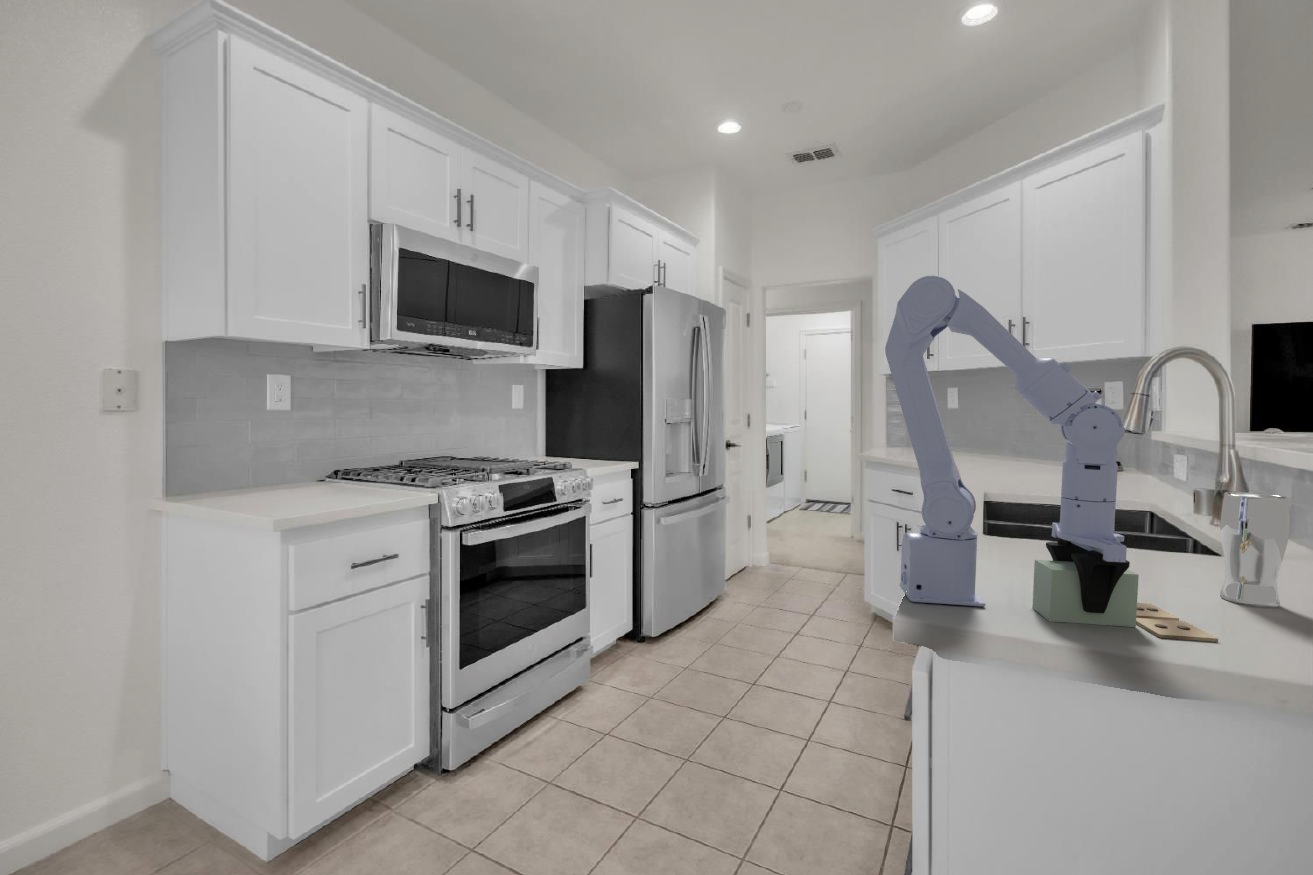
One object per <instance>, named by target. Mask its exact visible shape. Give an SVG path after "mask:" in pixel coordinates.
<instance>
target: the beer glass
mask: <svg viewBox="0 0 1313 875" xmlns="http://www.w3.org/2000/svg"><path fill="white" fill-rule="evenodd" d="M1223 495H1224V496H1223V500H1222V501H1223V502H1222V508H1221V513H1220V530H1219V531H1220V539H1221V540H1220V541H1221V546H1222V547H1221V548H1222V554H1223V559H1224V565H1225V570H1224V572H1225V573H1224V574H1225V575H1224V580H1223V583H1222V586H1221V590H1220V593H1219V596H1220V598H1221V599H1223V600H1225V601H1228V602H1231V603H1234V604H1239V605H1242V606H1243V605H1245V606H1248V607H1255V608H1265V609H1267V608H1268V609H1274V608H1279V607H1280V605H1281V601H1280V596H1279V591H1278V590H1279V589H1278V577H1279V571H1280V569H1281V565H1282V562H1283V559H1284V556H1285V553H1286V550H1287V546H1288V542H1289V538H1290V537H1289V536H1290V530H1291V529H1290V528H1291V525H1290V524H1291V514H1290V513H1291V512H1290V509H1291V508H1290V497H1288V496H1284V495H1280V494H1279V495H1277V494H1269V493H1261V492H1260V493H1259V492H1258V493H1257V492H1249V491H1248V492H1245V491H1244V492H1243V491H1226V492H1224V493H1223Z"/></svg>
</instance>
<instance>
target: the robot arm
mask: <svg viewBox="0 0 1313 875" xmlns="http://www.w3.org/2000/svg"><path fill="white" fill-rule="evenodd" d="M953 286H954V285H952V284H951V282H950V281H949V280H948V279H946V278H945V277H942V276H939V275H934V274H933V275H926V276H922V277H920V278H918V279H916V280H915V281H913V282H911V284H910V285H909V287H908V288H907V289H906V291H905V292H904V293H903V294H902V296H901V297H900V298H899V300H898V301H897V303H896V309H895V315H894V318H893V321H892V325H891V327H890V331H889V334H888V336H887V340H886V344H885V348H884V352H885V357H886V360H887V364H888V367H889V369H890V374H891V377H892V381H893V383H894V384H893V385H894V387H895V391H896V395H897V398H898V401H899V402H898V403H899V405H900V408H901V413H902V415H903V418H904V422H905V426H906V428H907V433H908V436H909V438H910V439H909V440H910V442H911V446H912V449H913V453H914V456H915V460H916V463H917V466H918V470H919V477H920V478H919V479H920V487H921V490H922V494H923V502H922V506H921V517H922V520H923V522H924V524H922V525H921V526H920V528H919V530H920V531H917V532H905V533H904V534H903V536H902V541H901V556H900V557H901V558H900V560H901V561H900V563H901V564H900V582H899V585H898V586H899V587H900V590H902V591H903V593H904V594H905V595H906V597H907V598H908V600H909V601H910V602H914V603H924V604H925V603H928V604H938V605H939V604H941V605H942V604H943V605H954V606H955V605H956V606H957V605H958V606H969V607H970V606H971V607H986V602H985V601H984V600H982V599H981V597H979V596H978V595H977V594H976V577H977V575H976V574H977V571H976V570H977V552H978V532H977V531H976V530H975V529H973V528H972V526H971V525H972V523H973V522H974V521H973V520H974V517H975V515H974V514H975V513H976V509H977V504H976V503H977V502H976V500H975V496H974V495H973V493H972V492H971V491H970V490H969V489H968V488H967V487H966V485H965V484H964V483H963V480H962V477H961V474H960V472H959V470H958V466H957V465H956V462H955V459H954V455H953V453H952V448H951V446H950V442H949V438H948V436H947V432H946V428H945V425H944V422H943V419H942V415H941V411H940V409H939V406H938V402H937V398H936V395H935V392H934V389H933V386H932V385H933V384H932V382H931V379H930V375H929V372H928V367H927V364H926V361H925V358H924V355H925V353H926V352H927V350H928V349H929V347H930V346H931V344H932V343H933V341H934V340H935V338H936V337H937V336H938V335H939V334H940V333H942V332H943V331H944V330H945V329H946V328H949V330H950V333H951V332H952V333H957V334H962V335H965V336H966V335H967V336H970V337H972V338H973V339H974V340H976V341H977V343H979V344H980V345H981V346H982V347H984V348H985V349H986V350H987V351H988V352H989V353H990V354H992V355H993V357H995V358H996V359H997V360H999V362H1001V363H1002V364H1003V365H1004V366H1005V367H1007V368H1008V370H1009V371H1011V372H1012V373H1013V374H1014V375H1015V386H1014V387H1015V391H1016V392H1017V393H1019V395H1021V396H1022V397H1023V398H1024V399H1025V400H1026V401H1027V402H1028V403H1029V404H1031V406H1033V408H1034V409H1035V410H1036V411H1038V412H1039V413H1040V414H1041V415H1042V416H1043V417H1044V418H1045V419H1046V420H1048V421H1049V423H1050V424H1052V425H1056V424H1057V425H1060V431H1061V434H1062V437H1063V438H1064V440H1067V441H1069V442H1066V443H1065V453H1064V460H1063V462H1062V471H1061V472H1062V473H1061V475H1062V476H1061V488H1060V489H1061V494H1060V495H1061V496H1060V513H1059V514H1060V515H1059V516H1060V517H1059V522H1051V524H1052V526H1051V537H1053V538H1055V539H1056V538H1057V539H1059V540H1057V541H1047V542H1046V543H1045V547H1046V549H1047V551H1048V552H1049V554H1050V557H1051V558H1052V561H1067V562H1074V563H1075V566H1076V568H1077V571H1078V575H1079V580H1080V586H1081V600H1082V606H1083V609H1084V611H1085V612H1089V613H1105V611H1106V608H1107V606H1108V603H1109V600H1110V597H1111V595H1112V592H1113V590H1114V588H1115V586H1116V584H1117V582H1118V580H1119V579H1120V577H1121V576H1122V575H1123V574H1124V572H1125V571H1126V570H1129V568H1130V561H1129V560H1127V549H1128V548H1127V545H1125V544H1122V543H1123V542H1124V541H1125V535H1122V534H1119V533H1115V526H1116V525H1115V522H1116V521H1115V520H1116V506H1117V505H1116V503H1117V486H1118V484H1117V483H1118V468H1119V466H1118V463H1117V458H1118V454H1119V453H1118V444H1119V443H1120V442H1121V440H1122V439H1123V437H1124V436H1125V432H1126V427H1124V425H1123V422H1122V418H1121V416H1120V415H1119V414H1118V413H1117V411H1115V410H1114V409H1113V408H1111V407H1109V406H1107V405H1103V404H1099V403H1097V402H1098V401H1099V400H1100V399H1101V398H1103V396H1102V395H1101V394H1100V393H1099V392H1098V391H1096V390H1095V391H1093V392H1091V390H1089V388H1087V387H1086V386H1085V385H1084V384H1083V383H1081V382H1080V381H1079V380H1078V379H1077V378H1076V377H1075V376H1074V375H1073V374H1072V373H1071V372H1070V371H1071V370H1072V369H1073V368H1072V366H1070V364H1069V363H1067V362H1066V361H1063V362H1061V363H1059V362H1058V361H1057V360H1056V359H1055V358H1049V357H1046V358H1039V357H1038V358H1037V357H1035V355H1033V353H1032V352H1030V351H1029V349H1028V348H1026V347H1025V346H1024V344H1022V343H1021V341H1019V340H1018V339H1017V338H1016V336H1014V335H1013V334H1012V333H1011V332H1010V331H1009V330H1008V329H1007V328H1006V327H1005V326H1004V325H1003V324H1001V322H1000V321H998V320H997V318H996V317H995V316H993V315H992V313H990V312H989V311H988V310H987V309H986V308H985V307H984V306H983V305H982V304H980V303H979V302H977V301H976V300H975V299H974V298H972V297H971V296H970V295H968V294H967V293H966V292H964V291H962V289H959V288H957V293H958V296H957V295H956V291H955V288H954V287H953ZM906 591H907V592H906Z"/></svg>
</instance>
